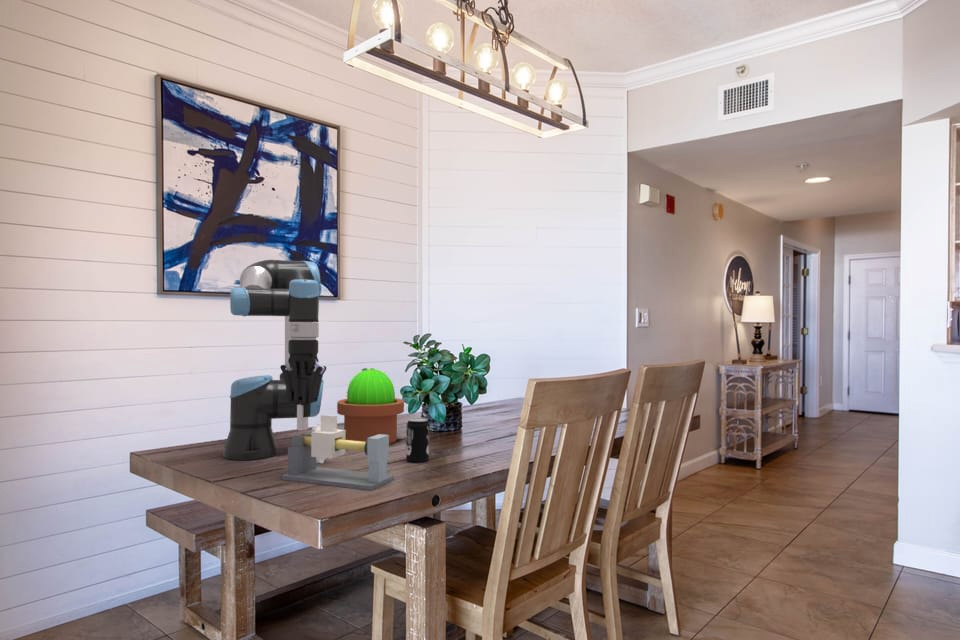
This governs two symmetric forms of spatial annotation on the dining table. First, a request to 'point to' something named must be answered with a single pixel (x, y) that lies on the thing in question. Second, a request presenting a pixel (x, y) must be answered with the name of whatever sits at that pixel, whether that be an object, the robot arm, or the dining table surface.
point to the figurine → (315, 428)
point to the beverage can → (417, 440)
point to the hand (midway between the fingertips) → (302, 429)
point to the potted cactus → (370, 407)
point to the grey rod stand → (306, 470)
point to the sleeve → (327, 438)
